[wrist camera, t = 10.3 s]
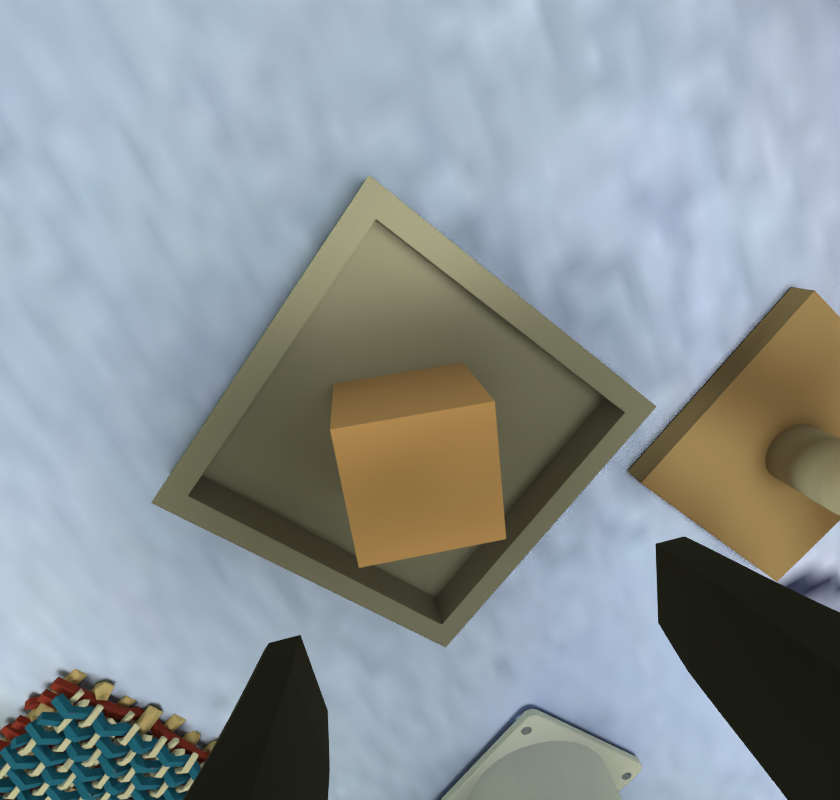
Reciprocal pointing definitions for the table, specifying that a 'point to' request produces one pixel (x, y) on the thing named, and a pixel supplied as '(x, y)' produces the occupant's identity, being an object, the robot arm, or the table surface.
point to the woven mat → (95, 748)
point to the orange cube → (418, 463)
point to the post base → (761, 440)
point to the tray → (384, 355)
